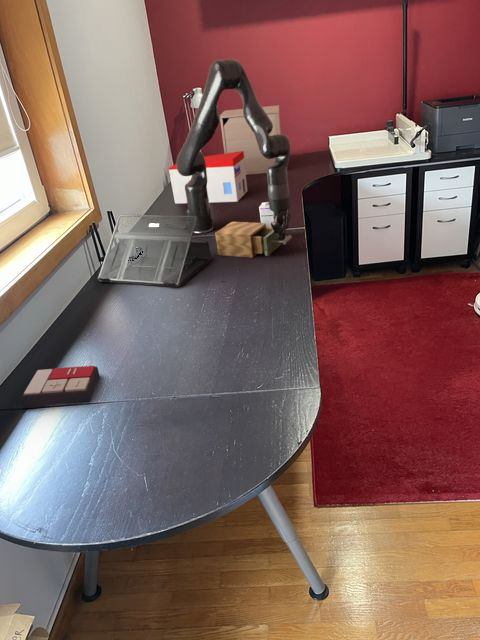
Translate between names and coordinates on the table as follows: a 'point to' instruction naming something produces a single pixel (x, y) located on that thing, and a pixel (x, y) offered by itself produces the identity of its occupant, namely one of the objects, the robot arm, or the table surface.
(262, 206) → the syrup box
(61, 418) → the table surface
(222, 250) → the cabinet
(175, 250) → the laptop stand
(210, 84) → the robot arm
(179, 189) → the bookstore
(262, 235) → the drawer
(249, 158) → the cabinet
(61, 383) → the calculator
